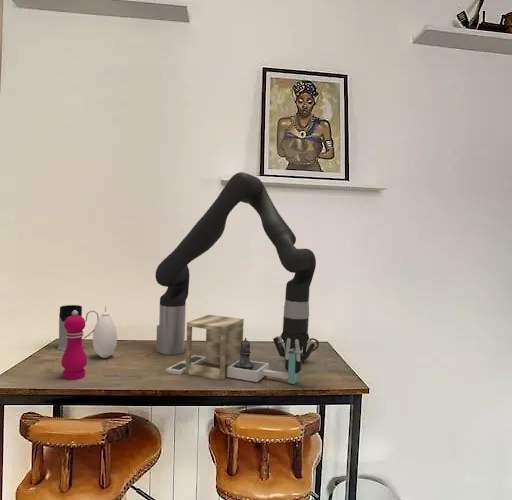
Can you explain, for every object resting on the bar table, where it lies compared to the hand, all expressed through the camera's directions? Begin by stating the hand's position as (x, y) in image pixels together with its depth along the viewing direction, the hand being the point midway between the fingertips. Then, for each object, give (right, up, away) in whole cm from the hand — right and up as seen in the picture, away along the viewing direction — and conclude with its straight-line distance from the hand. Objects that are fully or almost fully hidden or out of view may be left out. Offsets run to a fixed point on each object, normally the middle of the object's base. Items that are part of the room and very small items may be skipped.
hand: (293, 371), depth 146 cm
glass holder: (-76, +1, +30) cm, 82 cm away
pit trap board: (-34, -1, +14) cm, 36 cm away
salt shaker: (-15, -3, +6) cm, 16 cm away
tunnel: (-25, -2, +10) cm, 26 cm away
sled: (-9, -3, +4) cm, 10 cm away
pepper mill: (-66, -1, 0) cm, 66 cm away
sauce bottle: (-63, 0, +20) cm, 66 cm away
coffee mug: (+4, -3, +22) cm, 23 cm away
